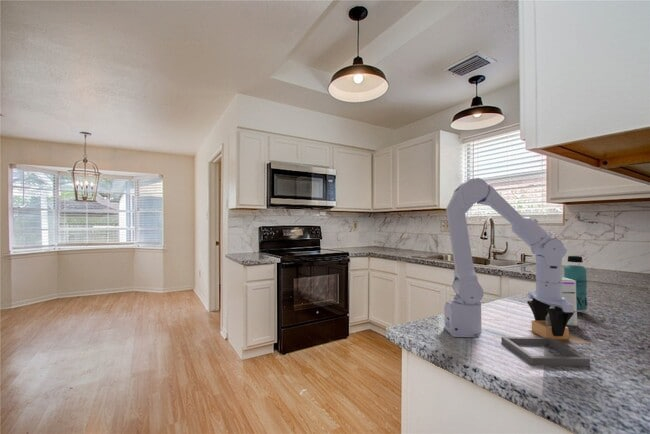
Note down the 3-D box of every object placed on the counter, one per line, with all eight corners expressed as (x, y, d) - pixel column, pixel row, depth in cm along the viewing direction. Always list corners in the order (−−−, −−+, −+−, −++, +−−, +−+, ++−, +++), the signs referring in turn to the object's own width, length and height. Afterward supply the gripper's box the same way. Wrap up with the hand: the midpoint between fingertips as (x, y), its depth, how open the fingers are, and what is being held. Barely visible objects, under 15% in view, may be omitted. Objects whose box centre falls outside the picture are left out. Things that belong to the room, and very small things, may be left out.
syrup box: (578, 329, 89) (577, 280, 89) (555, 327, 90) (555, 279, 90) (566, 322, 94) (566, 276, 95) (545, 321, 95) (545, 276, 96)
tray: (532, 369, 64) (531, 357, 64) (501, 346, 76) (501, 336, 76) (590, 370, 63) (589, 359, 63) (550, 347, 75) (549, 337, 75)
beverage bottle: (559, 310, 107) (558, 255, 108) (572, 309, 109) (571, 254, 110) (579, 315, 101) (578, 257, 102) (592, 314, 103) (591, 256, 104)
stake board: (550, 346, 76) (550, 321, 76) (528, 333, 85) (527, 311, 85) (591, 347, 75) (590, 322, 75) (564, 334, 84) (564, 312, 84)
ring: (545, 338, 78) (545, 327, 78) (531, 331, 84) (531, 320, 84) (574, 339, 78) (574, 327, 78) (558, 331, 84) (558, 320, 84)
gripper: (585, 287, 74) (586, 342, 74) (545, 276, 89) (546, 322, 88) (556, 286, 74) (557, 341, 74) (520, 276, 89) (521, 322, 89)
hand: (549, 331), depth 81 cm, fingers closed on ring, 6 cm apart
